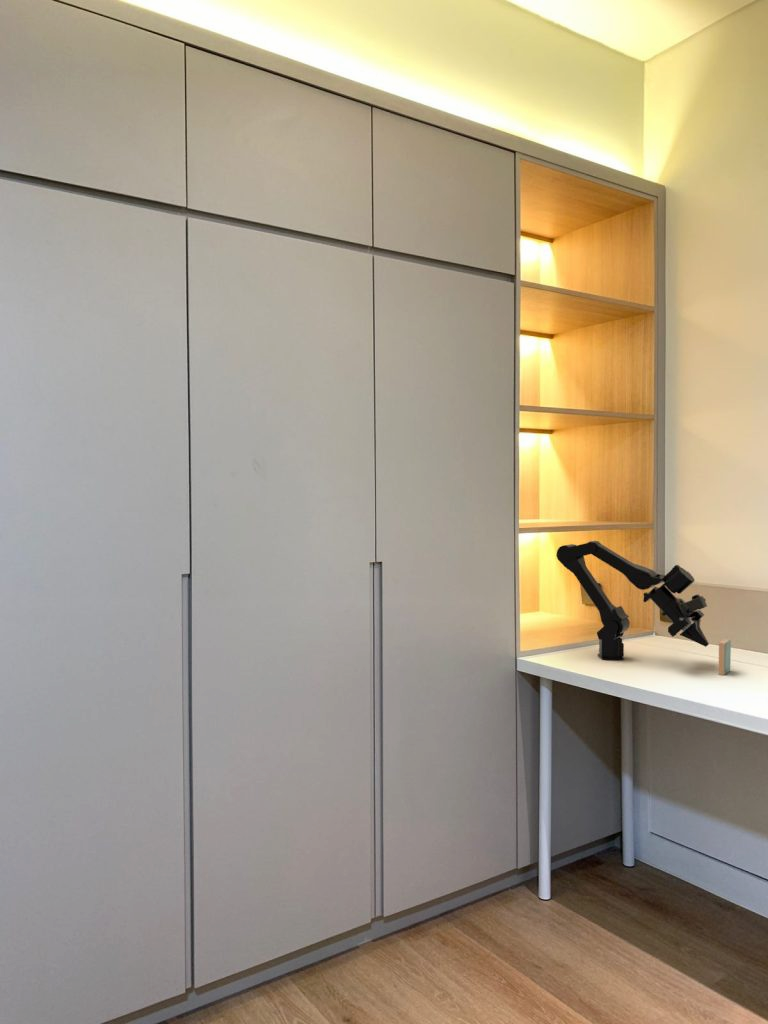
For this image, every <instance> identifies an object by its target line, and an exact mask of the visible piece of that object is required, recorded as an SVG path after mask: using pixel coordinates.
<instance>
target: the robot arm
mask: <svg viewBox="0 0 768 1024" xmlns="http://www.w3.org/2000/svg"><path fill="white" fill-rule="evenodd" d="M588 555H592V556H594V557H595V558H597V559H599V560H600V561H602V562H603V563H605V564H607V565H608V566H610V567H611V568H613V569H614V570H616V571H618V572H620V573H621V574H623V575H624V576H625V578H626V579H627V580H628V581H629V582H630V583H631V584H632V585H633V586H634V587H636V588H637V589H639V590H641V591H643V590H648V589H651V590H650V591H649V592H648V591H647V592H644V593H643V600H642V601H643V603H647V602H649V601H650V600H651V601H652V602H653V603H654V604H655V605H656V606H657V608H658V609H660V611H661V612H662V613H661V615H662V616H663V617H667V618H668V619H669V620H670V621H671V623H672V624H670V625H669V626H668V628H667V632H668V634H669V635H670V636H671V637H672V638H673V637H675V636H677V634H678V633H679V636H680V637H684V638H685V639H689V640H691V641H692V642H695V643H697V644H699V645H701V646H703V647H705V648H706V647H708V646H710V642H709V641H708V639H707V637H706V636H705V634H704V633H703V631H702V628H701V621H702V620H701V618H703V617H704V616H705V614H704V612H702V610H703V609H705V608H706V607H708V605H707V601H706V598H705V597H704V596H701V595H700V594H698V593H697V594H695V595H693V596H691V600H688V601H684V600H683V599H678V598H677V597H676V596H675V595H674V594H682V593H683V592H684V591H685V590H687V589H688V588H689V587H690V586H691V585H692V584H693V583H694V582H695V581H696V580H695V578H694V576H693V575H692V574H691V572H689V571H688V570H686V569H685V568H683V567H681V566H680V564H675V565H674V566H673V567H672V569H670V570H669V571H668V572H667V573H666V574H665V575H664V574H659V573H657V572H656V571H654V570H653V569H651V568H648V567H647V566H643V565H639V564H637V563H633V562H632V561H629V560H628V559H626V558H624V557H623V556H622V555H620V554H618V553H617V552H615V551H613V550H612V549H610V548H608V547H607V546H605V545H604V544H602V543H601V542H600V541H599V540H590V541H587V542H586V543H582V544H572V543H571V544H565V545H564V544H563V545H561V546H559V547H558V549H557V551H556V555H555V556H556V559H557V560H558V561H559V562H560V564H561V565H562V566H563V567H564V568H566V570H568V571H569V572H571V573H572V574H573V575H574V576H575V578H576V580H577V581H578V583H579V584H580V585H581V587H582V588H583V590H584V591H585V593H586V595H588V597H589V599H590V600H591V601H592V603H593V605H594V606H595V607H596V609H597V610H598V612H599V616H600V621H601V623H602V628H600V629H599V630H597V631H596V635H597V639H598V640H599V641H598V642H599V643H598V647H599V649H598V653H597V657H599V658H600V659H601V660H605V661H606V660H609V661H610V660H611V661H612V660H615V661H617V660H619V661H622V660H623V661H624V660H625V658H624V655H625V652H624V651H625V650H624V649H625V647H624V646H625V644H624V642H623V636H624V634H625V632H627V631H628V630H629V628H630V625H631V624H630V623H631V622H630V620H629V617H630V615H628V614H627V613H626V612H625V610H624V608H623V606H622V605H619V606H615V605H614V604H613V603H612V602H611V601H610V599H609V598H608V596H607V594H606V593H605V592H604V590H603V589H602V588H601V586H600V584H599V583H598V581H597V580H596V579H595V577H594V576H593V574H592V573H591V571H590V570H589V569H588V567H587V565H586V559H585V557H584V556H588ZM660 584H662V585H660ZM658 585H660V586H659V587H657V586H658ZM680 631H682V632H681V633H680Z"/></svg>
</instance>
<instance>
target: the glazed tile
mask: <svg viewBox="0 0 768 1024" xmlns="http://www.w3.org/2000/svg"><path fill="white" fill-rule="evenodd" d="M731 646H732V641H731V639H729V638H724V639H722V640H721V641H720V642H719V643H718V676H725V675H727V673H728V672H730V671H731V661H732V660H731V658H732V657H731V655H732V654H731V653H732V651H731V650H732V647H731Z"/></svg>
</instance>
